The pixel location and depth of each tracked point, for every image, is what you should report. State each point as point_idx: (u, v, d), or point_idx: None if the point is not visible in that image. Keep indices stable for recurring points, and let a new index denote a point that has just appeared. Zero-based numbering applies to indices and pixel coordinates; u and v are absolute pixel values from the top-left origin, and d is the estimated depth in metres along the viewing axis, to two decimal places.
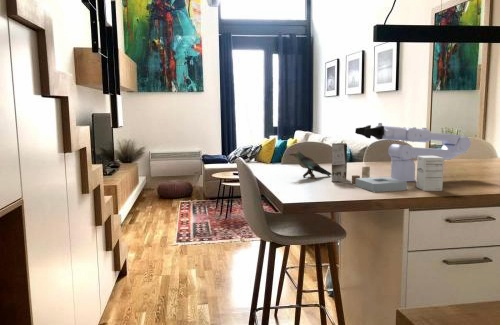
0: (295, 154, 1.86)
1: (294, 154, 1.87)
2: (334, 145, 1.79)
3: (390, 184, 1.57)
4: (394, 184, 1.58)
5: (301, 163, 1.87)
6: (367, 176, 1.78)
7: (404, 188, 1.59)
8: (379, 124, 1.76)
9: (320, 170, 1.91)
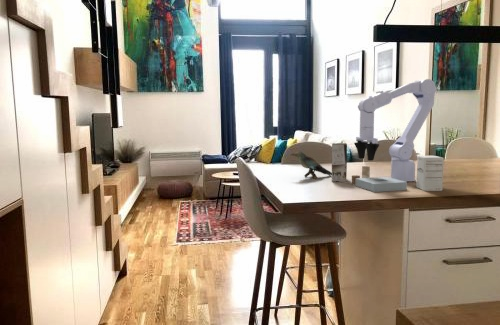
0: (297, 154, 1.86)
1: (295, 154, 1.87)
2: (334, 145, 1.79)
3: (390, 184, 1.57)
4: (394, 184, 1.58)
5: (303, 163, 1.87)
6: (367, 176, 1.78)
7: (404, 188, 1.59)
8: (359, 139, 1.77)
9: (322, 170, 1.92)
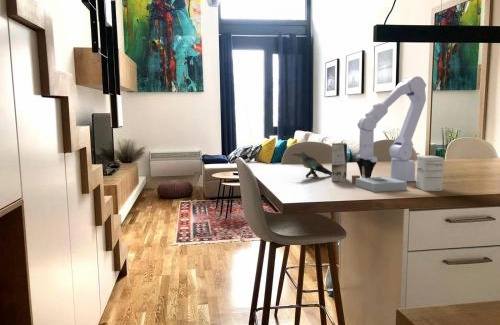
0: (298, 154, 1.86)
1: (297, 154, 1.87)
2: (334, 145, 1.79)
3: (390, 184, 1.57)
4: (394, 184, 1.58)
5: (304, 163, 1.87)
6: None
7: (404, 188, 1.59)
8: (359, 157, 1.77)
9: (323, 170, 1.92)
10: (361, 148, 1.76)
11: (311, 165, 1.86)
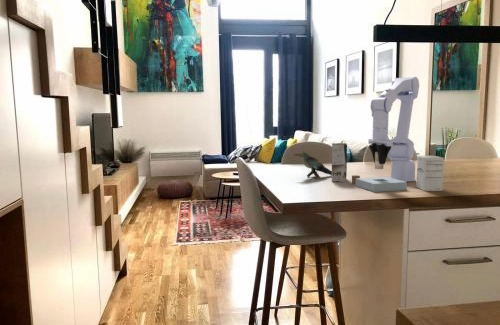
0: (300, 154, 1.86)
1: (298, 154, 1.87)
2: (334, 145, 1.79)
3: (390, 184, 1.57)
4: (394, 184, 1.58)
5: (306, 163, 1.87)
6: None
7: (404, 188, 1.59)
8: (372, 141, 1.63)
9: (324, 170, 1.92)
10: (375, 131, 1.62)
11: (313, 165, 1.86)
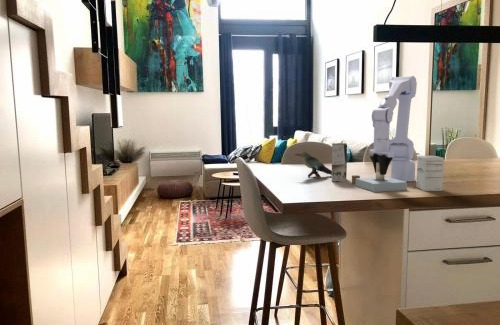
0: (301, 154, 1.86)
1: (299, 154, 1.87)
2: (334, 145, 1.79)
3: (390, 184, 1.57)
4: (394, 184, 1.58)
5: (307, 163, 1.87)
6: None
7: (404, 188, 1.59)
8: (373, 152, 1.62)
9: (325, 170, 1.92)
10: (376, 142, 1.61)
11: (314, 165, 1.86)
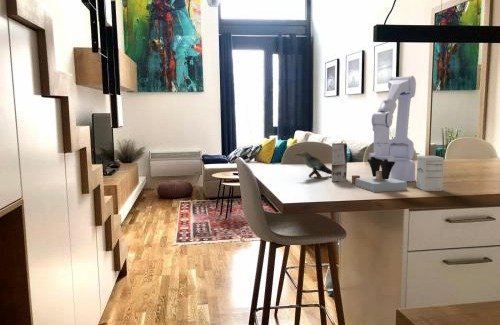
0: (302, 154, 1.86)
1: (301, 154, 1.87)
2: (334, 145, 1.79)
3: (390, 184, 1.57)
4: (394, 184, 1.58)
5: (308, 163, 1.87)
6: None
7: (404, 188, 1.59)
8: (373, 156, 1.62)
9: (326, 170, 1.92)
10: (376, 146, 1.61)
11: (315, 165, 1.86)
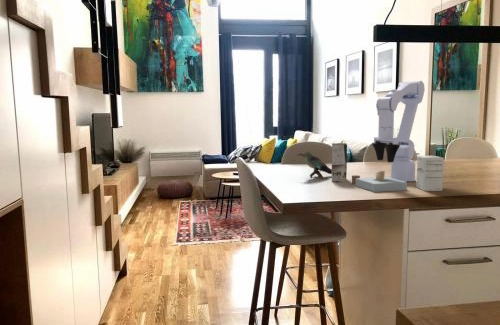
0: (304, 154, 1.86)
1: (302, 154, 1.87)
2: (334, 145, 1.79)
3: (390, 184, 1.57)
4: (394, 184, 1.58)
5: (309, 163, 1.87)
6: None
7: (404, 188, 1.59)
8: (378, 140, 1.67)
9: (327, 170, 1.92)
10: (381, 130, 1.66)
11: (316, 165, 1.87)
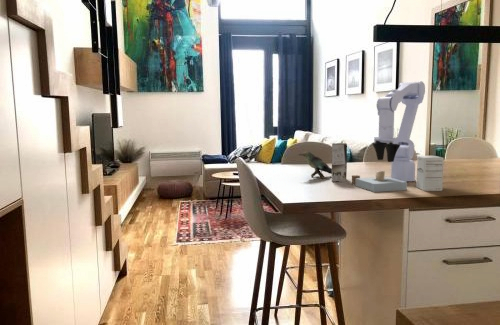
0: (305, 154, 1.86)
1: (303, 154, 1.87)
2: (334, 145, 1.79)
3: (390, 184, 1.57)
4: (394, 184, 1.58)
5: (311, 163, 1.87)
6: None
7: (404, 188, 1.59)
8: (378, 139, 1.68)
9: (328, 170, 1.92)
10: (381, 130, 1.66)
11: (318, 165, 1.87)
